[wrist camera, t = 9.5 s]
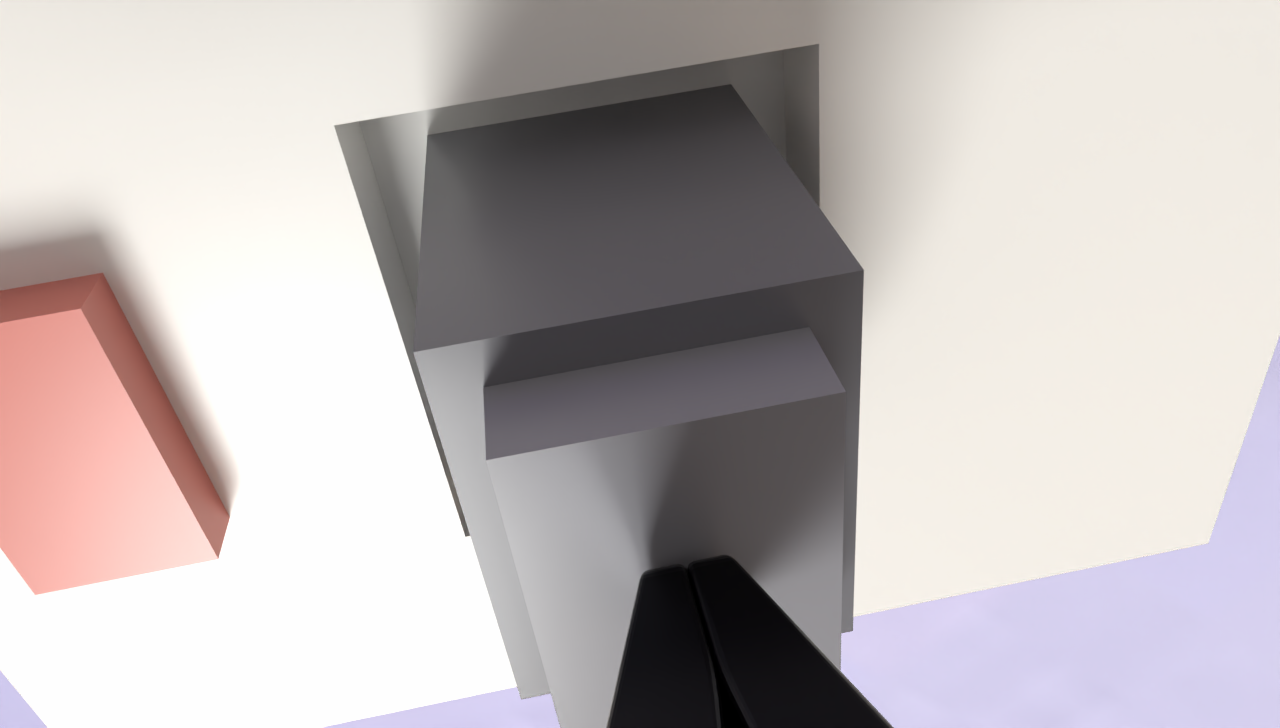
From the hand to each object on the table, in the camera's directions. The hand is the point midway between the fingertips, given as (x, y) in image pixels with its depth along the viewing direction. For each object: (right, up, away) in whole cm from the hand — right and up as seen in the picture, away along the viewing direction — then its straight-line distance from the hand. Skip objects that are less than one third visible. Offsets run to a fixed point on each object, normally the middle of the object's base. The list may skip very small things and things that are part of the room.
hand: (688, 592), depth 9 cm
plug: (-1, +3, +5) cm, 6 cm away
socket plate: (-1, +4, +6) cm, 8 cm away
